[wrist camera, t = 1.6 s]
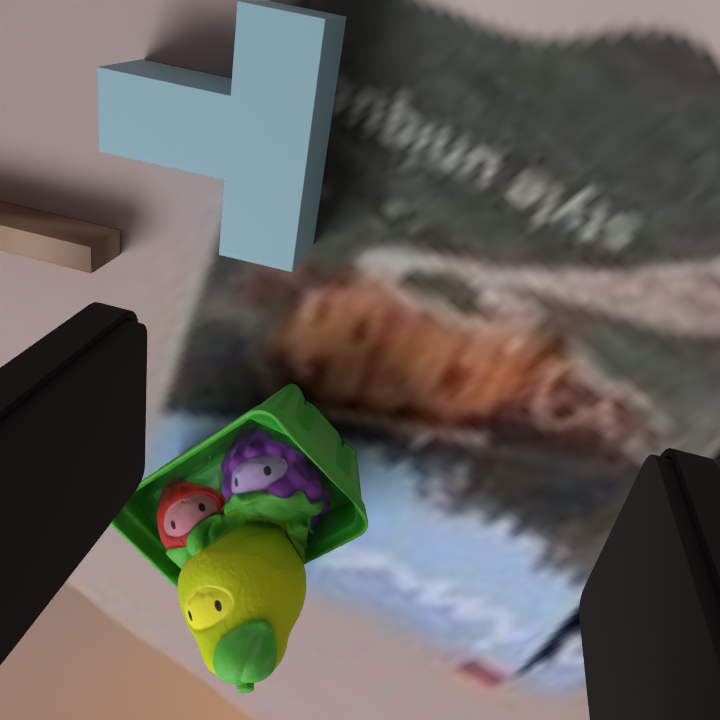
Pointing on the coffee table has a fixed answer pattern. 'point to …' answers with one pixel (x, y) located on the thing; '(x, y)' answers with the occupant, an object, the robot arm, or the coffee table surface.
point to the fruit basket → (248, 528)
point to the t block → (240, 125)
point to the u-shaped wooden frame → (56, 238)
